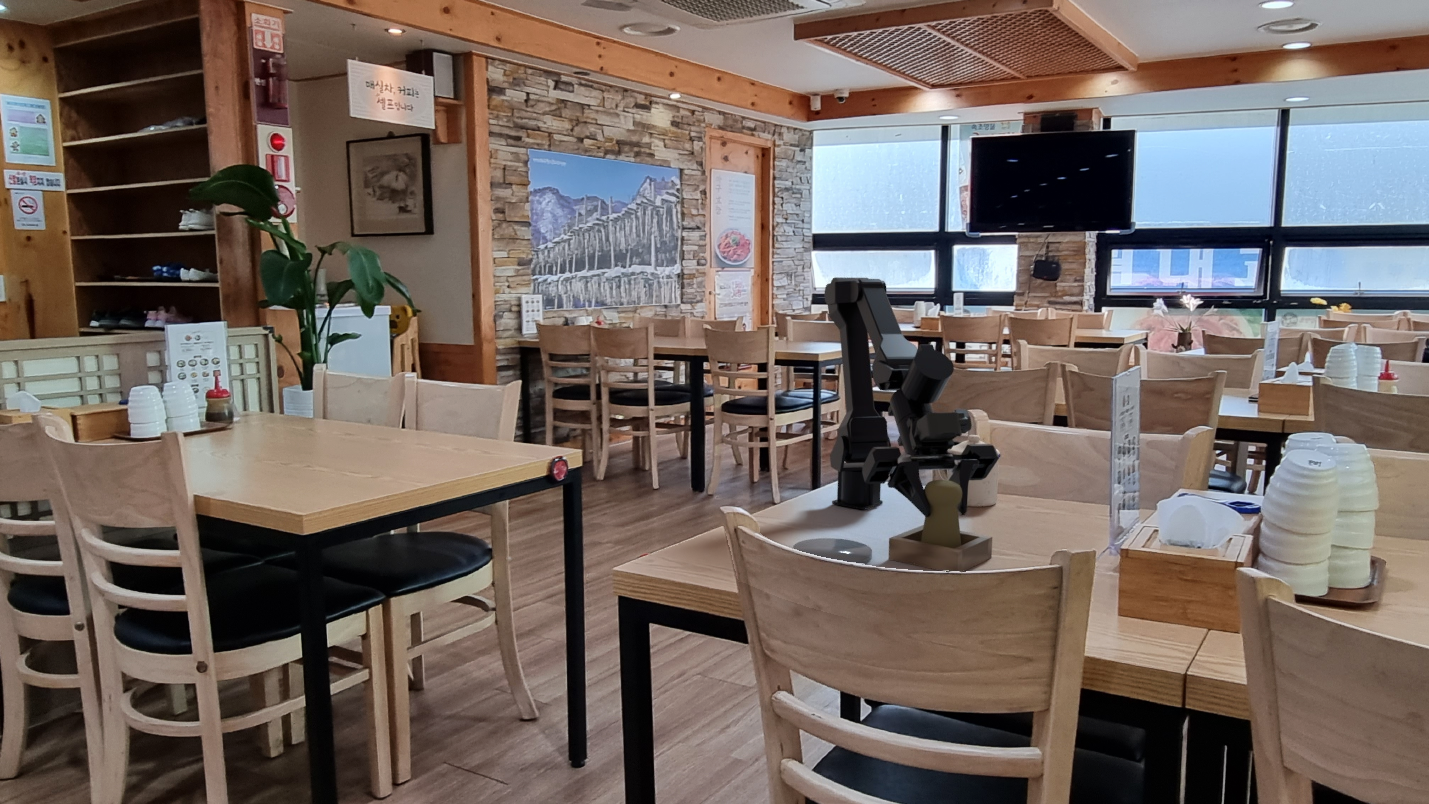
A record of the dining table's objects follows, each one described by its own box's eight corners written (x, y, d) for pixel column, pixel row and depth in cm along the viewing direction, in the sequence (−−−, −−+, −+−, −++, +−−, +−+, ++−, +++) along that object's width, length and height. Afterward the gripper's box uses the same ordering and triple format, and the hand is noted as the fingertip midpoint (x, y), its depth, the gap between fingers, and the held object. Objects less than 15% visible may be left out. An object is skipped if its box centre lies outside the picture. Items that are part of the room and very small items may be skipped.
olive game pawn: (963, 566, 137) (966, 486, 135) (918, 563, 138) (921, 484, 136) (961, 554, 143) (965, 477, 141) (918, 551, 144) (921, 475, 142)
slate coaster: (777, 556, 140) (777, 549, 140) (821, 540, 149) (821, 534, 149) (844, 572, 133) (844, 564, 133) (886, 554, 142) (886, 547, 142)
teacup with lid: (1009, 502, 175) (1012, 436, 173) (975, 510, 169) (978, 441, 168) (954, 490, 184) (957, 427, 182) (920, 496, 178) (923, 432, 177)
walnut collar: (888, 559, 140) (889, 538, 139) (924, 544, 147) (925, 524, 147) (957, 574, 133) (958, 552, 133) (991, 557, 141) (992, 536, 140)
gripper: (872, 390, 139) (900, 485, 130) (995, 388, 143) (1032, 480, 134) (850, 437, 148) (876, 529, 138) (968, 433, 152) (1000, 523, 142)
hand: (946, 514), depth 138 cm, fingers closed on olive game pawn, 5 cm apart
